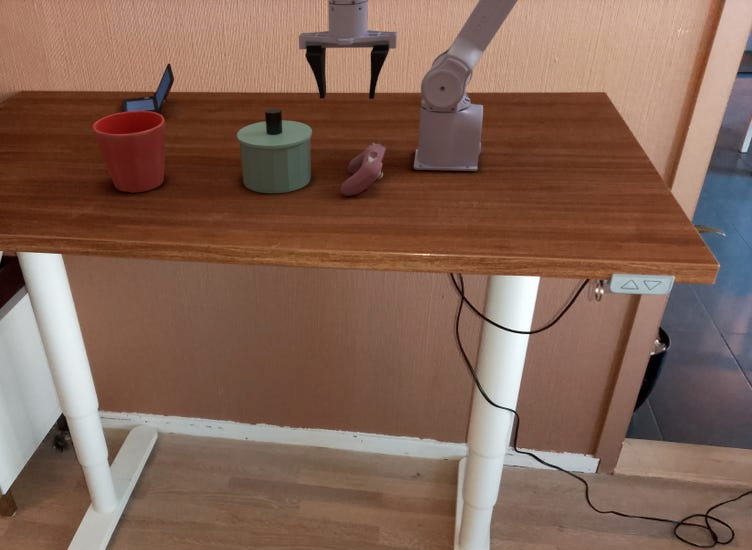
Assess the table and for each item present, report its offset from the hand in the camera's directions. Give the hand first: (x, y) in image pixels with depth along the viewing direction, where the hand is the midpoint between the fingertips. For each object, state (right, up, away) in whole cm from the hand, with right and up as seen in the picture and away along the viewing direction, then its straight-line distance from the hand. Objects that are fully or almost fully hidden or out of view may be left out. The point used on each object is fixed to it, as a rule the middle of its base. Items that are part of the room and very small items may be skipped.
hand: (347, 96), depth 112 cm
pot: (-11, -13, -1) cm, 17 cm away
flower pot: (-33, -14, +1) cm, 35 cm away
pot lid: (-11, -8, -5) cm, 15 cm away
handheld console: (-36, +8, +31) cm, 48 cm away
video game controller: (+2, -15, -5) cm, 16 cm away
